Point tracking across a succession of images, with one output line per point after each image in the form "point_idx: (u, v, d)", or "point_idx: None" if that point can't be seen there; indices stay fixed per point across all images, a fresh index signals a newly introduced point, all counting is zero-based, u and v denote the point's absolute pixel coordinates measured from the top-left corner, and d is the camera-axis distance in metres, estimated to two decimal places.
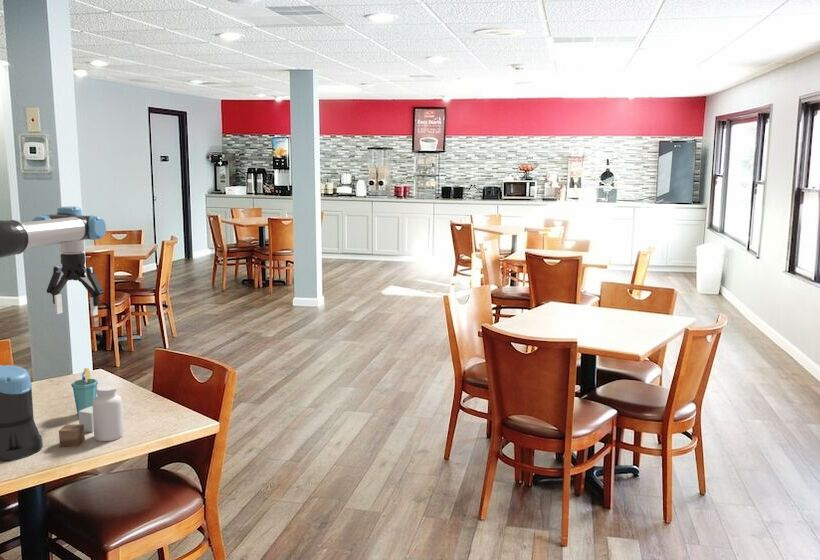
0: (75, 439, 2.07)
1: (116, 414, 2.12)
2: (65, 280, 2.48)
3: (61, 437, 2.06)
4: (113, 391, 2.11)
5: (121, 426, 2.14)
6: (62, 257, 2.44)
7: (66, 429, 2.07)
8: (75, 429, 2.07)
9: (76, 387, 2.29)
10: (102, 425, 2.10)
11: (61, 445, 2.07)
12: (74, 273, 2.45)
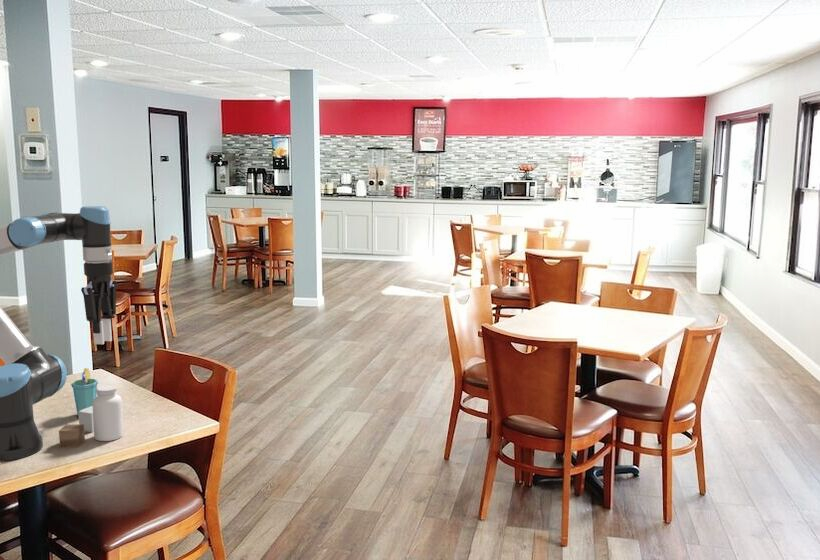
0: (75, 439, 2.07)
1: (116, 414, 2.12)
2: None
3: (61, 437, 2.06)
4: (113, 391, 2.11)
5: (121, 426, 2.14)
6: None
7: (66, 429, 2.07)
8: (75, 429, 2.07)
9: (76, 387, 2.29)
10: (102, 425, 2.10)
11: (61, 445, 2.07)
12: None
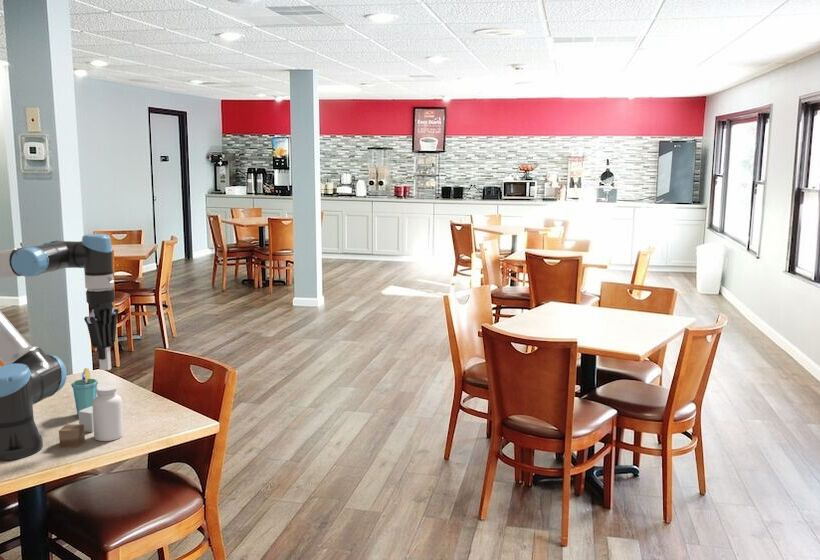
0: (75, 439, 2.07)
1: (116, 414, 2.12)
2: None
3: (61, 437, 2.06)
4: (113, 391, 2.11)
5: (121, 426, 2.14)
6: None
7: (66, 429, 2.07)
8: (75, 429, 2.07)
9: (76, 387, 2.29)
10: (102, 425, 2.10)
11: (61, 445, 2.07)
12: None
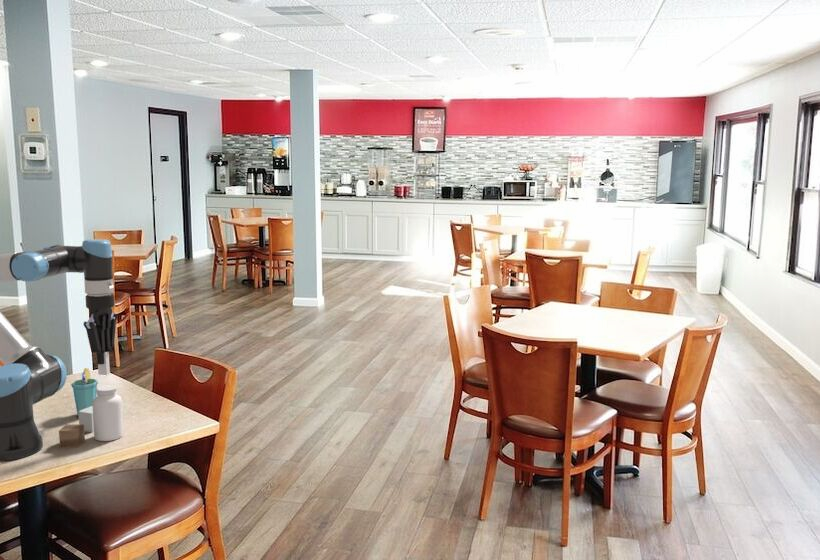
0: (75, 439, 2.07)
1: (116, 414, 2.12)
2: None
3: (61, 437, 2.06)
4: (113, 391, 2.11)
5: (121, 426, 2.14)
6: None
7: (66, 429, 2.07)
8: (75, 429, 2.07)
9: (76, 387, 2.29)
10: (102, 425, 2.10)
11: (61, 445, 2.07)
12: None
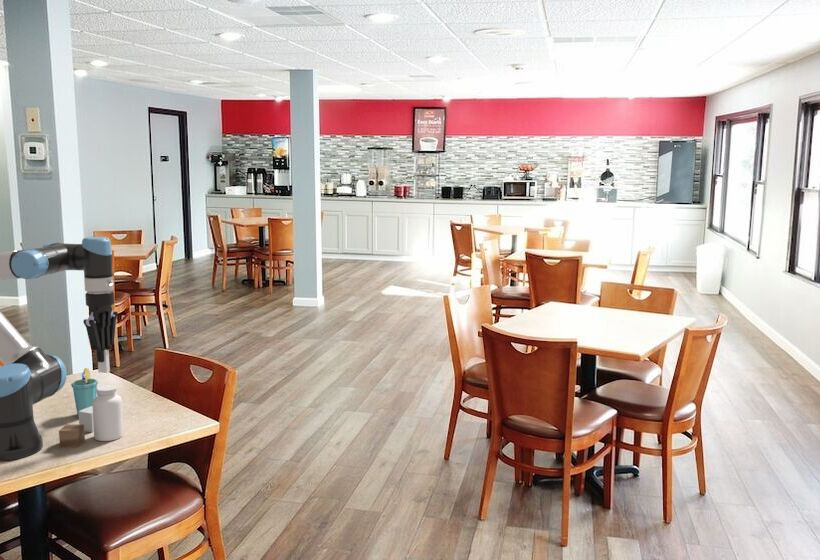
0: (75, 439, 2.07)
1: (116, 414, 2.12)
2: None
3: (61, 437, 2.06)
4: (113, 391, 2.11)
5: (121, 426, 2.14)
6: None
7: (66, 429, 2.07)
8: (75, 429, 2.07)
9: (76, 387, 2.29)
10: (102, 425, 2.10)
11: (61, 445, 2.07)
12: None
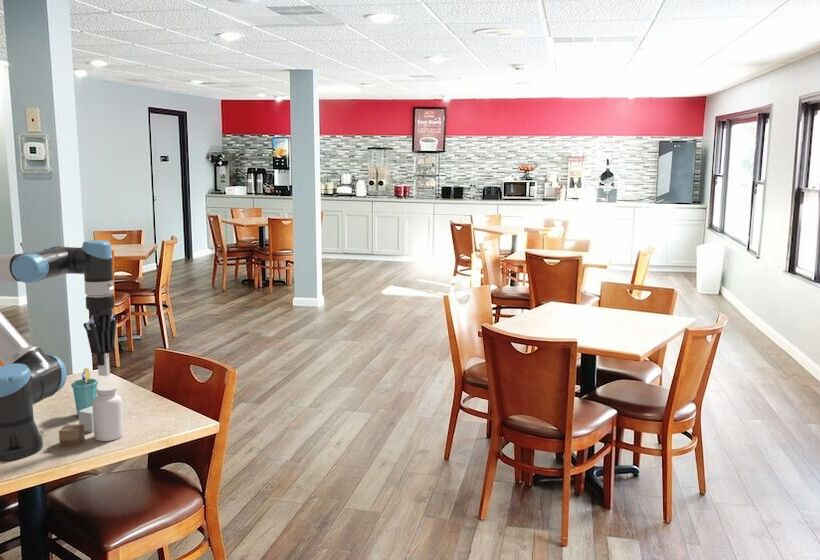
0: (75, 439, 2.07)
1: (116, 414, 2.12)
2: None
3: (61, 437, 2.06)
4: (113, 391, 2.11)
5: (121, 426, 2.14)
6: None
7: (66, 429, 2.07)
8: (75, 429, 2.07)
9: (76, 387, 2.29)
10: (102, 425, 2.10)
11: (61, 445, 2.07)
12: None
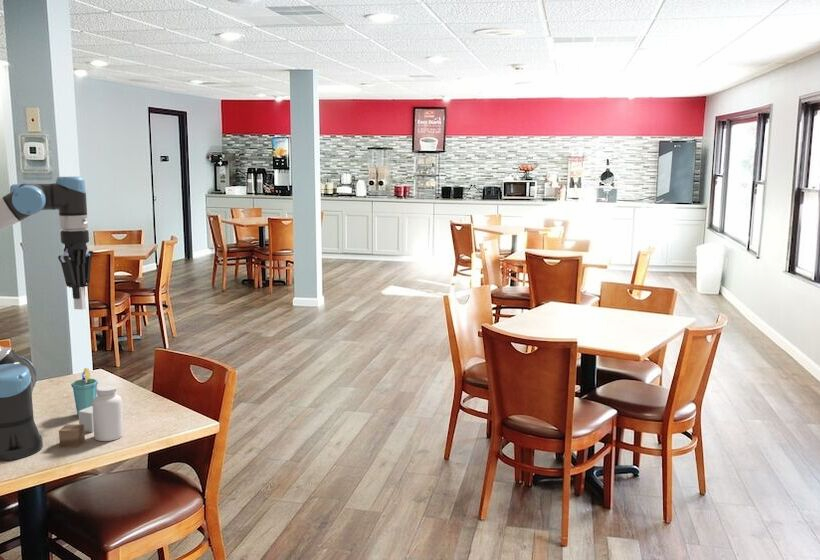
0: (75, 439, 2.07)
1: (116, 414, 2.12)
2: None
3: (61, 437, 2.06)
4: (113, 391, 2.11)
5: (121, 426, 2.14)
6: None
7: (66, 429, 2.07)
8: (75, 429, 2.07)
9: (76, 387, 2.29)
10: (102, 425, 2.10)
11: (61, 445, 2.07)
12: None
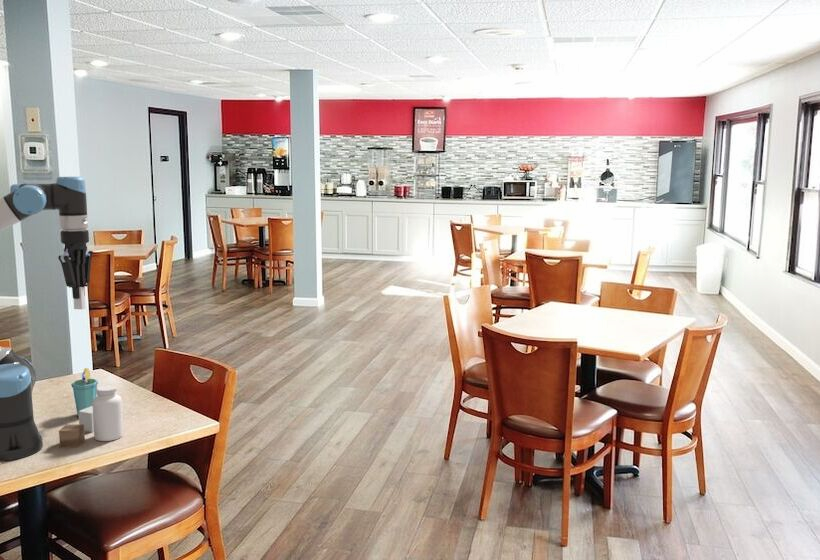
0: (75, 439, 2.07)
1: (116, 414, 2.12)
2: None
3: (61, 437, 2.06)
4: (113, 391, 2.11)
5: (121, 426, 2.14)
6: None
7: (66, 429, 2.07)
8: (75, 429, 2.07)
9: (76, 387, 2.29)
10: (102, 425, 2.10)
11: (61, 445, 2.07)
12: None
